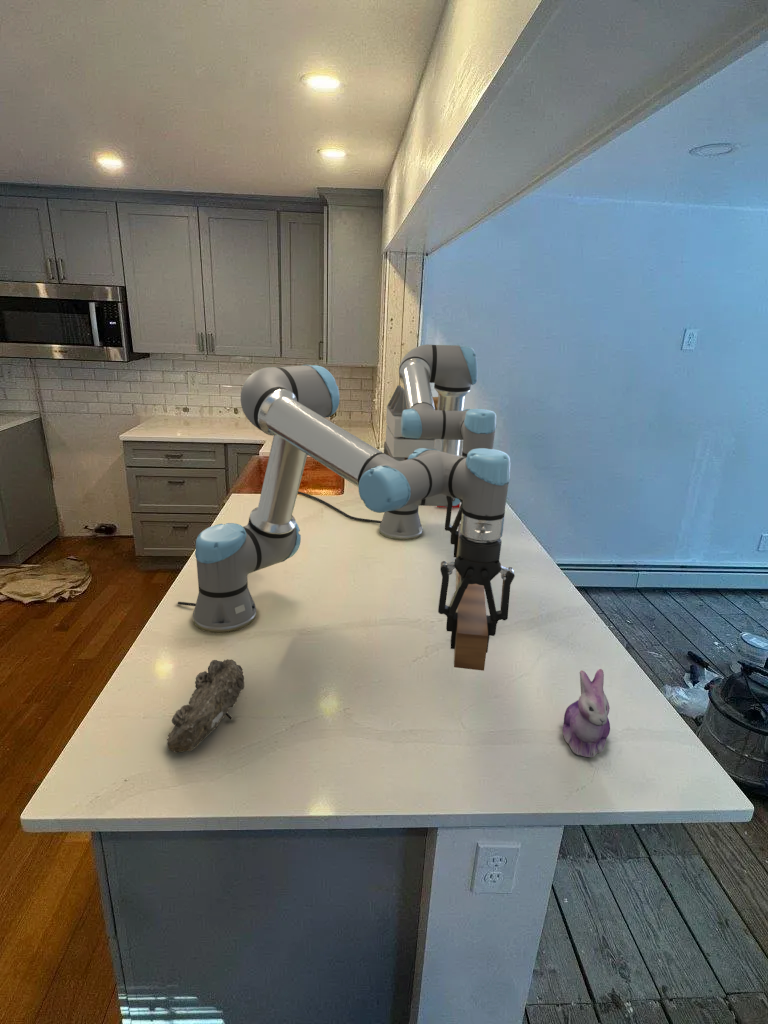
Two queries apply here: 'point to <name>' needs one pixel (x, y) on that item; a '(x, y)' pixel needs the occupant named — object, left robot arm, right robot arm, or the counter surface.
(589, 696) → the figurine
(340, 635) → the counter surface
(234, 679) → the fossil
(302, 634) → the counter surface
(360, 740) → the counter surface
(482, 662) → the bar
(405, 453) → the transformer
